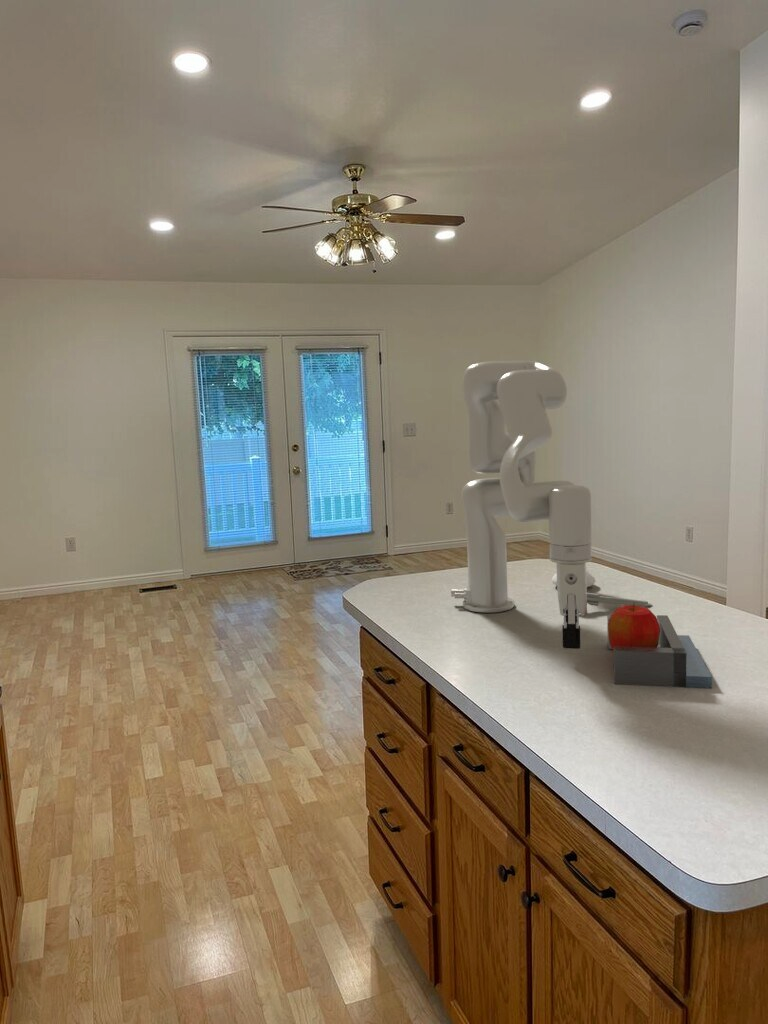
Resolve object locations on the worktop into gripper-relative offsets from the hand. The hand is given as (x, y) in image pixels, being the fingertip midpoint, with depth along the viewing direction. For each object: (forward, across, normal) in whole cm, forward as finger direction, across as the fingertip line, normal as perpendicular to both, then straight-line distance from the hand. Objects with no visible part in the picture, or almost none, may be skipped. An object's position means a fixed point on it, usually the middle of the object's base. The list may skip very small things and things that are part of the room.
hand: (571, 646), depth 133 cm
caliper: (+4, +37, -10) cm, 38 cm away
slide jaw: (+3, +9, -12) cm, 15 cm away
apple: (+3, -1, -11) cm, 12 cm away
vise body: (+3, +1, -15) cm, 15 cm away
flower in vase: (+3, +57, -1) cm, 57 cm away
